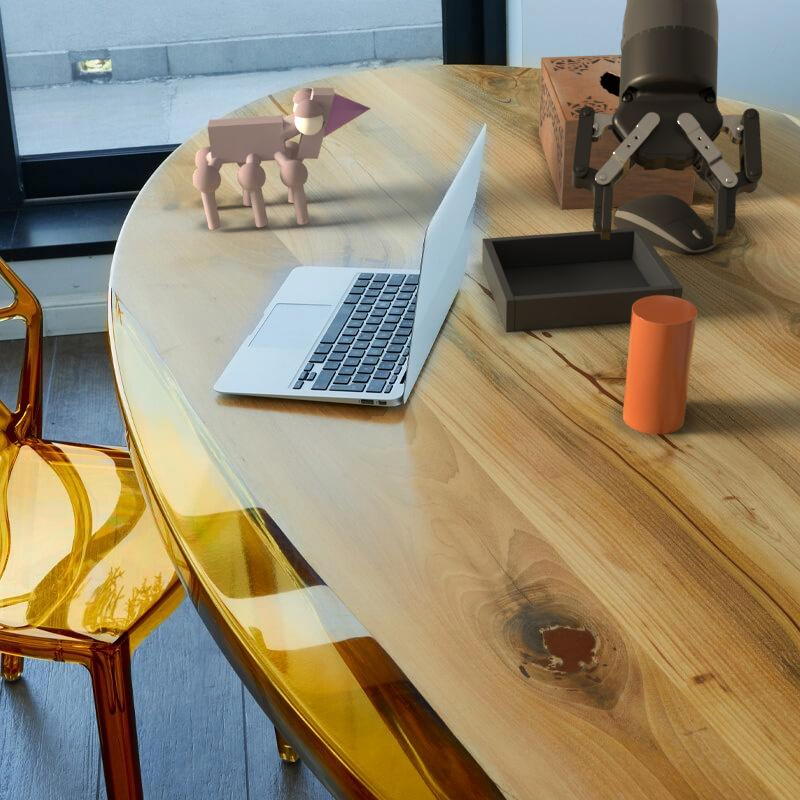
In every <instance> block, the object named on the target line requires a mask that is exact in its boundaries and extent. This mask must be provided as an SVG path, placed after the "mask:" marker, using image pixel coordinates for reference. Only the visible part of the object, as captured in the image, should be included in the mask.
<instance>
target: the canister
mask: <svg viewBox="0 0 800 800" xmlns="http://www.w3.org/2000/svg"><path fill="white" fill-rule="evenodd" d="M697 318H698V309H697V307H696V305H694V304H693V303H692V302H691V301H689V300H687V299H684V298H682V299H681V298H678V297H673V296H665V295H656V296H648V297H644V298H641V299H639V300H637V301H636V302H635V303H634V304H633V306H632V313H631V323H629V324H630V326H629V327H630V328H629V336H628V337H629V339H628V347H627V361H626V373H625V383H624V385H625V386H624V395H623V396H624V397H623V406H622V419H623V421H624V423H625V424H626V426H628V427H630V428H631V429H632V430H634V431H637V432H640V433H643V434H648V435H668V434H671V433H675V432H676V431H679V429H681V428H682V427H683V426H684V424H685V417H686V410H687V400H688V393H689V384H690V377H691V368H692V361H693V352H694V351H693V350H694V345H695V337H696V329H697V328H696V327H697Z"/></svg>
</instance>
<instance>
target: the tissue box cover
mask: <svg viewBox="0 0 800 800" xmlns="http://www.w3.org/2000/svg"><path fill="white" fill-rule="evenodd" d="M620 73H621V54H606V55H605V54H603V55H600V54H599V55H578V56H577V55H576V56H575V55H574V56H573V55H572V56H547V57H545V56H544V57H541V58H540V85H539V87H540V89H539V117H538V119H539V122H538V136H539V140H540V143H541V146H542V149H543V153H544V155H545V159H546V163H547V166H548V170H549V172H550V175H551V180H552V182H553V185H554V189H555V192H556V195H557V199H558V202H559V205H560V209H561V210H572V209H573V210H574V209H593V208H594V195H593V193H592V192H591V191H589V190H587V189H584V188H582V189H577V188H575V187H574V186H573V184H572V169H573V160H574V152H575V144H576V136H577V128H578V120H579V112H580V110H581V108H583V107H585V106H590V107H592V108H593V109H594V111H595V113H604V114H614V113H615V112H616V110H617V109H618V106H619V94H620ZM620 144H621V143H620V142H619V141H618V139H617V138H616V137H615V135H614V134H613V132H612V130H608V131H606V132H605V133H604V134H603V137H602V139H601V140H600V141H598V142H592V146H591V155H590V163H589V167H590V168H593V169H596V170H600V169H601V168H602V167H603V166H604V165H605V163H606V162H607V161H608V160H609V159H610V158H611V156H612V154H613V153H614V151H615V150H616V149H617V148H618V146H619V145H620ZM696 174H697V173H696V172H695V171H694V170H693V168H692V167H691V166H690V167H687V168H685V169H684V171H674V170H670V169H666V168H661V169H657V170H644V167H641V166H639V165H638V164H637V165H636V166H635V167H634V168H633V169H632V170H631V171H630V172H629V173H628V175H627V176H626V177H625V178H624V179H621V180H620V181H619V182H618V184H617V185H616V186H615V187H614V188H613V199H612V208H619V207H620V206H621V205H623V204H625V203H627V202H629V201H632V200H635V199H638V198H641V197H645V196H649V195H657V194H664V195H671V196H675V197H677V198H679V199H681V200H683V201H684V202H685V203H687V204H688V205H689V206H693V199H694V190H695V181H696Z"/></svg>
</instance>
